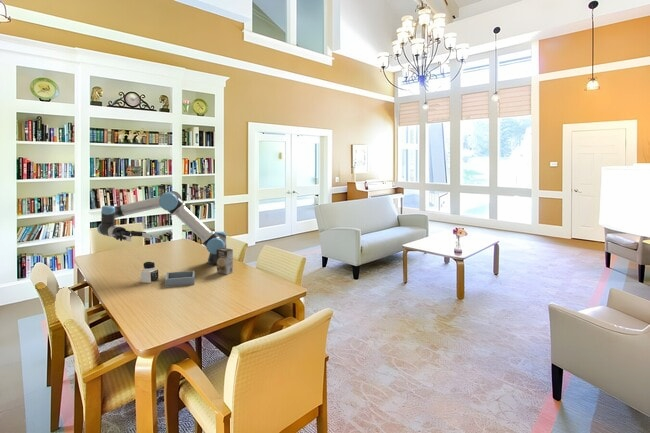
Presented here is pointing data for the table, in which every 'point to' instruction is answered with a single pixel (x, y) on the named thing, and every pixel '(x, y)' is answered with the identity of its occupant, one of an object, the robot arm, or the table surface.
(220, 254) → the coffee box
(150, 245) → the table surface
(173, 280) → the tote
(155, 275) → the medicine bottle
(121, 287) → the table surface
